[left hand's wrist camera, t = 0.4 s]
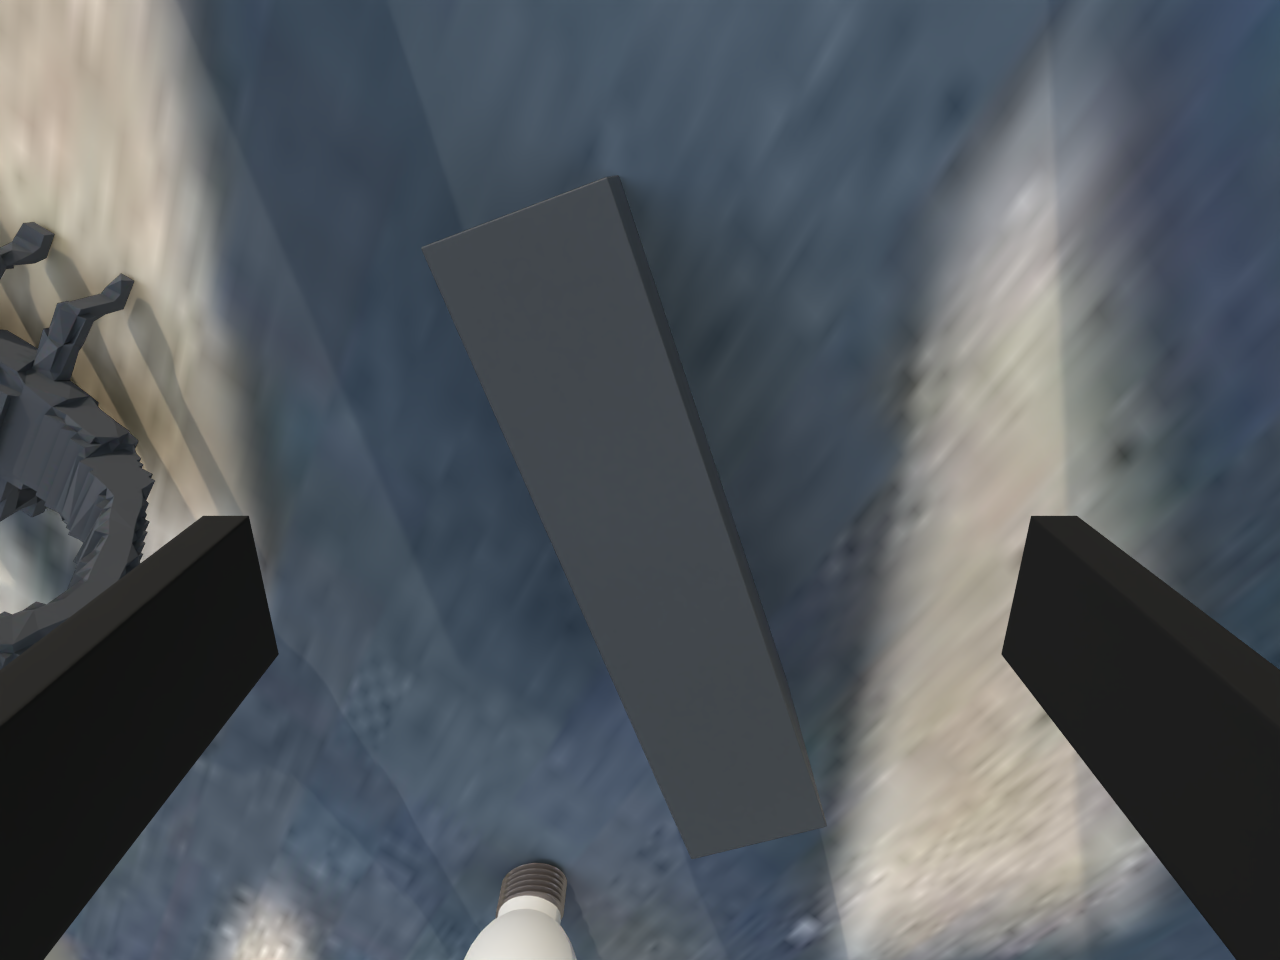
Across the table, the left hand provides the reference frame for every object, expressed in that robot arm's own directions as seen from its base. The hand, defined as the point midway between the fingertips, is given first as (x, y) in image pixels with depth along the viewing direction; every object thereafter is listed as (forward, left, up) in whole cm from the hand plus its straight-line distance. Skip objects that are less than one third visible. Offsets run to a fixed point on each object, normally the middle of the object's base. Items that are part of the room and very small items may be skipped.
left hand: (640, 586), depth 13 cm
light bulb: (+34, +9, -22) cm, 42 cm away
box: (+7, +4, -22) cm, 23 cm away
